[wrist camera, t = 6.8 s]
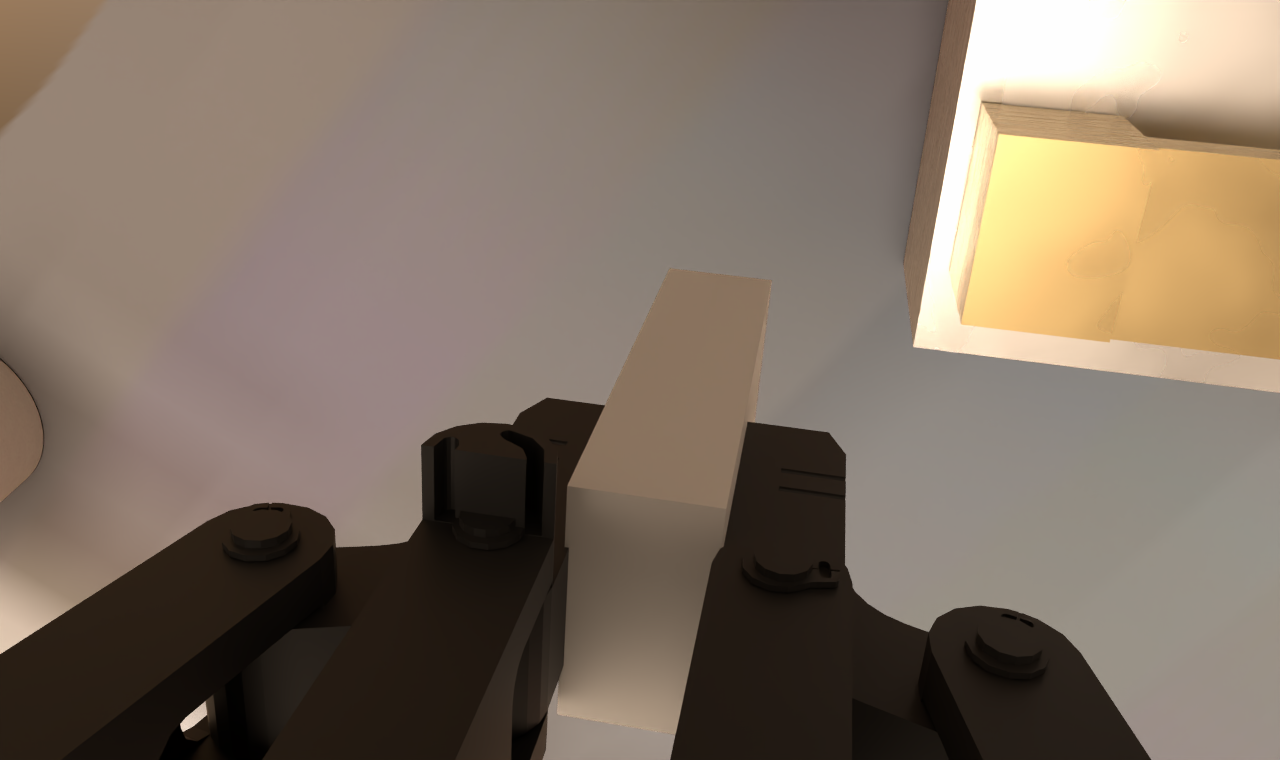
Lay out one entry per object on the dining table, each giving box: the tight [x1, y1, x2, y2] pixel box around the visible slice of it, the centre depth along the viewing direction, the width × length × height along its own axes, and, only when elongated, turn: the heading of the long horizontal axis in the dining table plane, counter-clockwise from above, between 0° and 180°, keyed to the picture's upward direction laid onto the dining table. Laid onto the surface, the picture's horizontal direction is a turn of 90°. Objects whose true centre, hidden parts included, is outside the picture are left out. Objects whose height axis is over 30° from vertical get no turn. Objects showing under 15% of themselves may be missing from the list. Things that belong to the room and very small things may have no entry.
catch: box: [949, 103, 1280, 360], centre depth 24 cm, size 4×8×3 cm, turn 86°
